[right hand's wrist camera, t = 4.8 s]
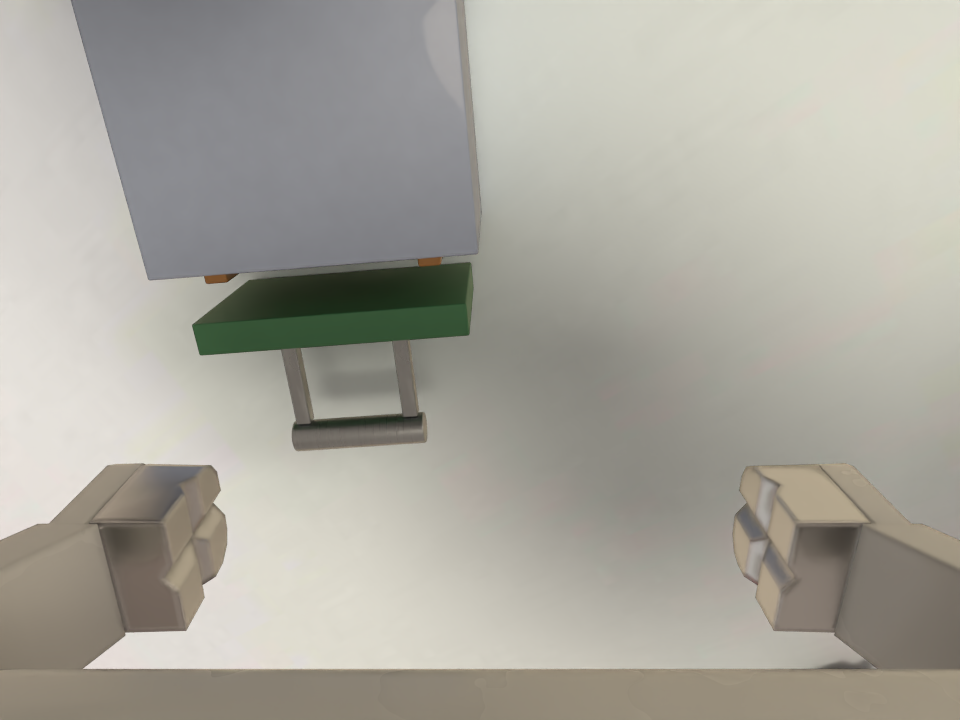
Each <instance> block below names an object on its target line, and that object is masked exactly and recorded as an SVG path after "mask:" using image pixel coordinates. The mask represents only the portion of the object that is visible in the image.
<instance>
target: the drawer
mask: <svg viewBox="0 0 960 720" xmlns="http://www.w3.org/2000/svg"><path fill="white" fill-rule="evenodd" d="M442 258H443V257H435V258H422V259H418V265H419V266H420V267H407V268H395V269H382V270H370V271H357V272H345V273H332V274H320V275H307V276H295V277H282V278H270V279H257V280H249V281H247V282H246V283H245V284H244V285H242V286H241V287H240V288H238V289H237V290H236V291H235V292H233V293H232V294H231V295H230V296H228V297H227V298H226V299H224V300H223V301H222V302H221V303H219V304H218V305H217V306H216V307H214V308H213V309H212V310H210V311H209V312H208V313H207V314H205V315H204V316H203V317H202V318H200V319H199V320H198V321H196V322H195V323H194V324H193V325H192V327H193V331H194V335H195V339H196V342H197V346H198V350H199V354H200V355H213V354H227V353H240V352H253V351H267V350H280V349H281V351H282V356H283V360H284V365H285V370H286V375H287V380H288V384H289V389H290V394H291V399H292V403H293V408H294V413H295V418H296V421H295V422H294V424H293V428H292V442H293V446H294V448H295V450H296V451H310V450H324V449H339V448H354V447H368V446H383V445H398V444H413V443H425V442H426V441H427V420H426V415H425V413H424V412H419V406H418V399H417V391H416V384H415V376H414V369H413V361H412V354H411V346H410V340H413V339H427V338H440V337H453V336H467V335H469V333H470V321H471V310H472V299H473V278H472V267H471V263H457V264H445V265H440V264H441V261H442ZM238 274H239V273H236V274H224V275H211V276H204V277H205V282H206V283H207V284H213V283H225V282H228V281H229V280H231V279H232V278H234V277H235V276H236V275H238ZM387 341H392V343H393V350H394V357H395V364H396V371H397V378H398V385H399V392H400V399H401V406H402V413H401V414H387V415H373V416H358V417H344V418H330V419H316V420H313V419H314V414H313V409H312V404H311V399H310V394H309V389H308V384H307V379H306V373H305V368H304V363H303V358H302V353H301V348H307V347H320V346H333V345H347V344H360V343H373V342H387Z"/></svg>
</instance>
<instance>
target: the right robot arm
mask: <svg viewBox="0 0 960 720" xmlns="http://www.w3.org/2000/svg"><path fill="white" fill-rule="evenodd" d="M220 491H221V489H220V484H219V479H218V474H217V471H216V470H215V469H214V468H213V467H212V466H211V465H173V464H147V465H146V464H143V463H141V464H113V465H107V466H106V467H105V468H104V469H103V470H102V471H101V472H100V473H99V474H98V475H97V476H96V477H95V478H94V479H93V480H92V481H91V482H90V483H89V484H88V485H87V486H86V487H85V488H84V489H83V490H82V491H81V492H80V493H79V494H78V495H77V496H76V497H75V498H74V499H73V500H72V501H71V502H70V503H69V504H68V505H67V506H66V507H65V508H64V509H63V510H62V511H61V512H60V513H59V514H58V515H57V516H56V517H55V518H54V519H53V520H52V521H51V522H50V523H49V524H36V525H34V526H32V527H30V528H27V529H25V530H23V531H20V532H18V533H16V534H14V535H11V536H9V537H7V538H4V539H2V540H0V720H960V540H958V539H955V538H953V537H951V536H949V535H946V534H944V533H942V532H940V531H937V530H935V529H933V528H930V527H928V526H926V525H924V524H911V523H910V522H909V521H908V520H907V519H906V518H905V517H904V516H903V515H902V514H901V513H900V512H899V511H898V510H897V509H896V508H895V507H894V506H893V505H892V504H891V503H890V502H889V501H888V500H887V499H886V498H885V497H884V496H883V495H882V494H881V493H880V492H879V491H878V490H877V489H876V488H875V487H874V486H873V485H872V484H871V483H870V482H869V481H868V480H867V479H866V478H865V477H864V476H863V475H862V474H861V473H860V472H859V471H858V470H857V469H856V468H855V467H854V466H851V465H848V464H846V463H838V464H808V465H768V466H747V467H746V468H745V470H744V472H743V474H742V478H741V483H740V488H739V491H740V492H741V494H742V496H743V497H744V499H745V500H746V502H747V503H746V504H745V505H744V506H743V507H742V508H741V509H740V510H739V511H738V512H737V513H736V514H735V518H734V526H733V546H734V553H735V557H736V560H737V563H738V566H739V568H740V570H741V571H742V573H743V575H744V577H746V578H747V579H749V580H751V581H752V582H754V583H755V584H757V585H758V586H757V591H756V597H755V598H756V599H757V601H758V603H759V605H760V607H761V608H762V610H763V612H764V614H765V616H766V617H767V619H768V621H769V623H770V625H771V626H772V628H773V630H774V631H799V632H835V634H834V635H835V636H836V637H837V638H839V639H840V640H841V641H843V642H844V643H845V644H846V645H848V646H849V647H850V648H852V649H853V650H854V651H855V652H857V653H858V654H859V655H861V656H862V657H863V658H864V659H866V660H867V661H868V662H870V663H871V664H872V665H873V666H875V667H876V668H877V669H83V668H84V667H86V666H87V665H88V664H89V663H91V662H92V661H93V660H95V659H96V658H97V657H98V656H100V655H101V654H102V653H104V652H105V651H106V650H107V649H109V648H110V647H111V646H113V645H114V644H115V643H116V642H118V641H119V640H120V639H122V638H123V637H124V636H125V632H159V631H186V630H187V628H188V627H189V625H190V623H191V621H192V619H193V617H194V616H195V614H196V612H197V610H198V608H199V607H200V605H201V603H202V601H203V599H204V598H205V597H204V591H203V586H202V585H203V584H205V583H206V582H208V581H209V580H211V579H213V578H214V577H216V575H217V573H218V571H219V569H220V567H221V565H222V564H223V560H224V556H225V551H226V547H227V524H226V518H225V514H224V513H223V512H222V511H221V510H220V509H219V508H218V507H217V506H216V505H215V504H214V503H213V502H214V500H215V499H216V497H217V496H218V494H219V492H220Z"/></svg>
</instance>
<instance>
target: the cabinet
mask: <svg viewBox="0 0 960 720" xmlns="http://www.w3.org/2000/svg"><path fill="white" fill-rule="evenodd" d="M71 2H72V6H73V9H74V13H75V17H76V20H77V24H78V27H79V31H80V35H81V38H82V42H83V45H84V49H85V53H86V56H87V60H88V64H89V67H90V71H91V74H92V78H93V82H94V85H95V89H96V92H97V96H98V100H99V103H100V107H101V110H102V114H103V118H104V121H105V125H106V128H107V132H108V136H109V139H110V143H111V147H112V150H113V154H114V157H115V161H116V165H117V168H118V172H119V175H120V179H121V183H122V186H123V190H124V193H125V197H126V201H127V204H128V208H129V211H130V215H131V219H132V222H133V226H134V230H135V233H136V237H137V240H138V244H139V248H140V251H141V255H142V258H143V262H144V266H145V269H146V273H147V276H148V279H149V280H161V279H174V278H186V277H199V276H211V275H224V274H236V273H248V272H261V271H273V270H286V269H298V268H310V267H323V266H335V265H348V264H360V263H373V262H385V261H397V260H410V259H422V258H435V257H447V256H459V255H472V254H478V250H479V236H480V223H481V200H480V188H479V176H478V164H477V152H476V140H475V128H474V116H473V104H472V92H471V80H470V68H469V56H468V44H467V32H466V20H465V8H464V0H71Z"/></svg>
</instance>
